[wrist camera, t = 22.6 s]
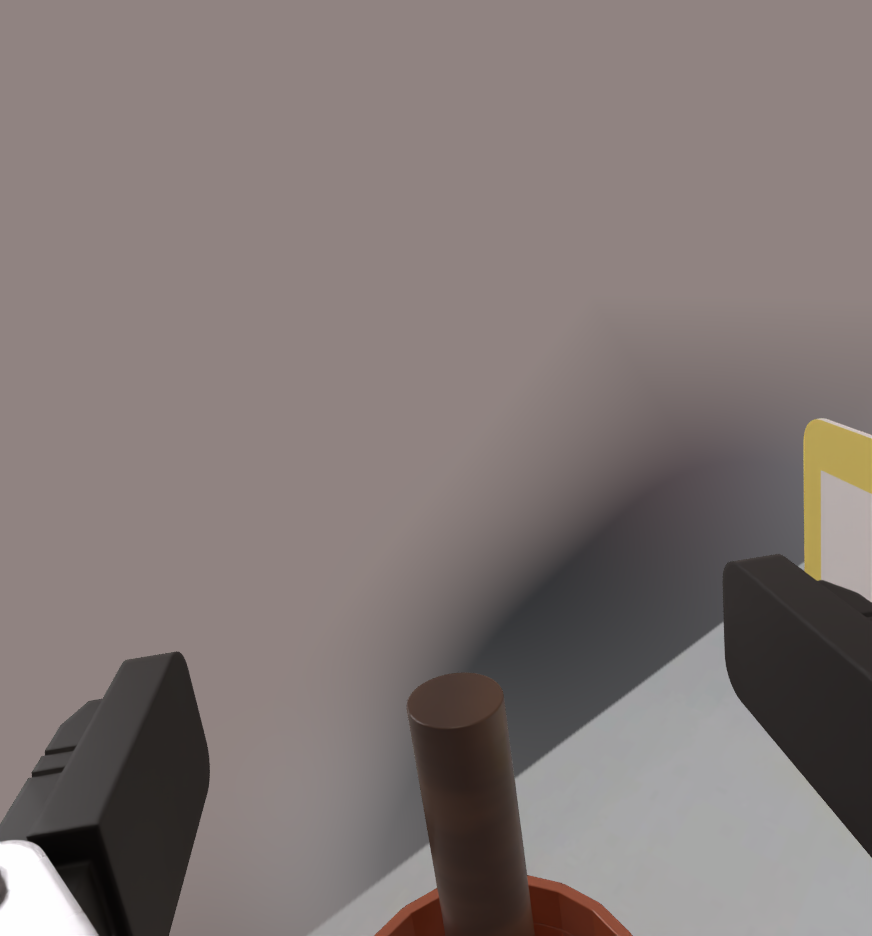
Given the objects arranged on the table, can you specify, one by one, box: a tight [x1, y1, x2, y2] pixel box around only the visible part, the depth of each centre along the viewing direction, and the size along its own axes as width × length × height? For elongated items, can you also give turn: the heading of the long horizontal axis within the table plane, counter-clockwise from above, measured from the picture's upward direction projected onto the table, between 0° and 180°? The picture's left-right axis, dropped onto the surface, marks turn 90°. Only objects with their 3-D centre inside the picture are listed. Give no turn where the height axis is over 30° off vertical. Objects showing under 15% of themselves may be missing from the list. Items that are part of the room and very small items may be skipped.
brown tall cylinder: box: [407, 673, 535, 936], centre depth 27 cm, size 4×4×16 cm
